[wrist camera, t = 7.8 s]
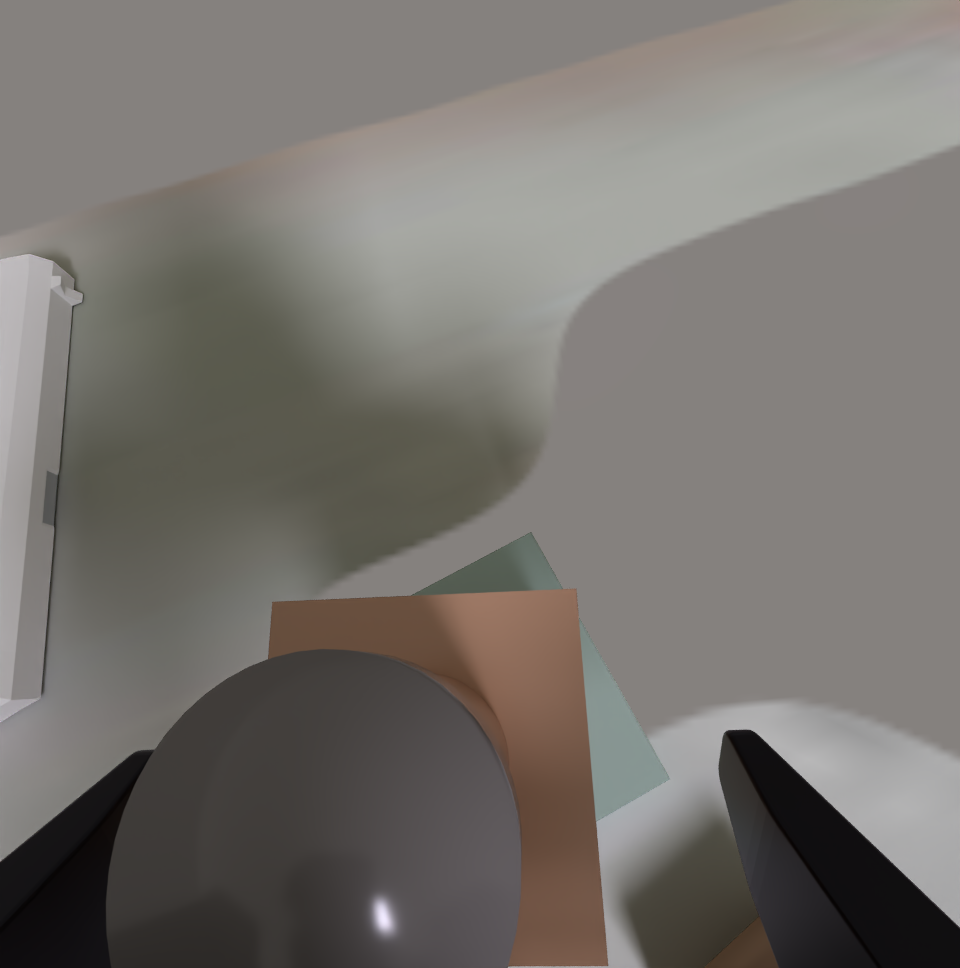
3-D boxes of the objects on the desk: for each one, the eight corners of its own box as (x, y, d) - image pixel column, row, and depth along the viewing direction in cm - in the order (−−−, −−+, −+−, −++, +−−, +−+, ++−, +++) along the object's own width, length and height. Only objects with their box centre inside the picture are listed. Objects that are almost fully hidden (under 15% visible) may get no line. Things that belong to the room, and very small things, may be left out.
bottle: (562, 798, 16) (720, 1377, 3) (400, 801, 16) (-110, 1343, 3) (550, 629, 17) (623, 515, 4) (401, 635, 18) (49, 544, 5)
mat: (663, 774, 17) (670, 779, 16) (418, 914, 16) (413, 927, 15) (530, 537, 19) (531, 531, 18) (313, 652, 19) (304, 651, 18)
